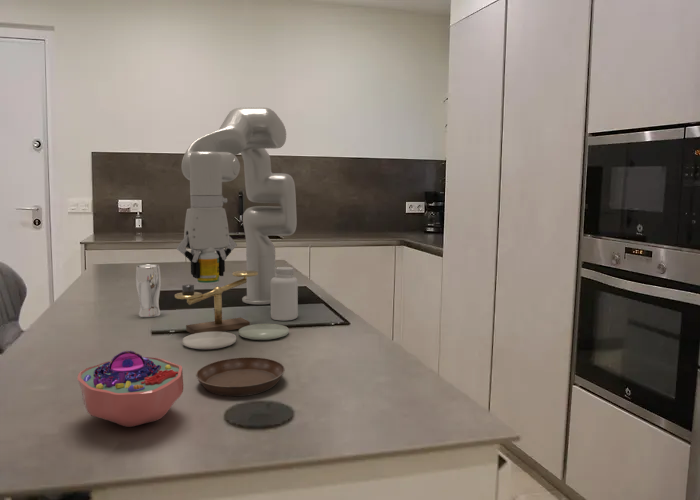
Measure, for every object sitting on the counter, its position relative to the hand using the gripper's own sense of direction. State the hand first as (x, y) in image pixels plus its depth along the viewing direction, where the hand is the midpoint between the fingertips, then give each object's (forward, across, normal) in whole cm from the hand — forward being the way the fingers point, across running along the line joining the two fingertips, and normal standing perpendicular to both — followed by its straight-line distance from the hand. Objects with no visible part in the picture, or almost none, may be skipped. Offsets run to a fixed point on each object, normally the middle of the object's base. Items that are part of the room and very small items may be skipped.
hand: (208, 275), depth 148 cm
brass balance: (+17, -8, -13) cm, 23 cm away
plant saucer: (+18, +5, +30) cm, 36 cm away
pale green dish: (+17, -15, 0) cm, 23 cm away
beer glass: (+17, +3, -39) cm, 42 cm away
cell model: (+18, +28, +36) cm, 49 cm away
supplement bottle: (+2, 0, 0) cm, 2 cm away
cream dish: (+17, 0, 0) cm, 17 cm away
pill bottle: (+17, -29, -14) cm, 36 cm away
